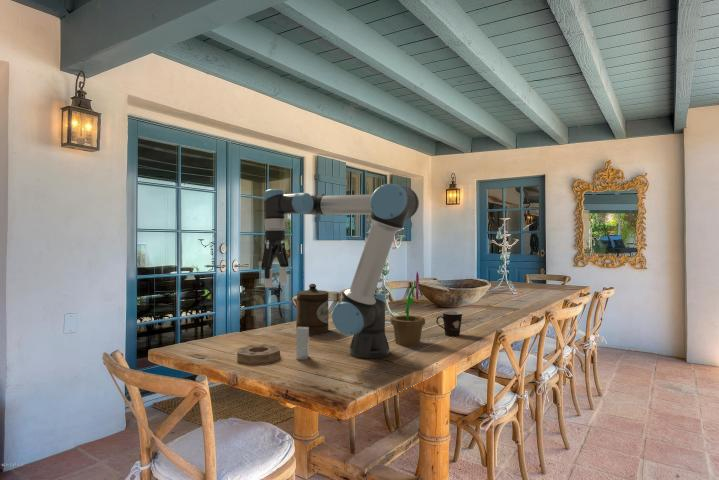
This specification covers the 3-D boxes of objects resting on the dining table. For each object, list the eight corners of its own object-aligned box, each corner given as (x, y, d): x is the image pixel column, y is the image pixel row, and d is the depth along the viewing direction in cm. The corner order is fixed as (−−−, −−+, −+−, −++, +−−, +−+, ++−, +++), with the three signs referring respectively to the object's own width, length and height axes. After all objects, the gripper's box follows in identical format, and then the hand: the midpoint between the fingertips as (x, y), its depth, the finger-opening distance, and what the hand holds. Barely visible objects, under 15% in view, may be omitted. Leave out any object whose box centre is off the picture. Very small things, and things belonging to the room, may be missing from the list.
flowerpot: (423, 348, 180) (424, 272, 179) (388, 346, 183) (388, 272, 182) (425, 339, 194) (426, 269, 193) (392, 338, 197) (392, 269, 196)
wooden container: (326, 334, 202) (327, 285, 202) (293, 334, 203) (293, 285, 202) (329, 327, 217) (329, 282, 217) (298, 327, 217) (299, 281, 217)
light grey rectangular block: (308, 356, 167) (308, 326, 167) (307, 359, 163) (307, 329, 163) (297, 356, 167) (297, 326, 167) (296, 359, 163) (296, 329, 163)
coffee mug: (460, 333, 207) (460, 311, 207) (463, 337, 198) (463, 314, 198) (435, 332, 208) (435, 310, 208) (436, 336, 199) (436, 314, 199)
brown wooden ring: (287, 355, 168) (287, 347, 168) (259, 366, 155) (259, 357, 155) (257, 350, 176) (257, 342, 176) (228, 359, 163) (228, 351, 163)
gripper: (278, 230, 187) (280, 281, 187) (250, 230, 163) (252, 289, 163) (295, 230, 185) (297, 281, 185) (270, 229, 161) (271, 289, 161)
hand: (276, 285), depth 174 cm, fingers open, 13 cm apart
